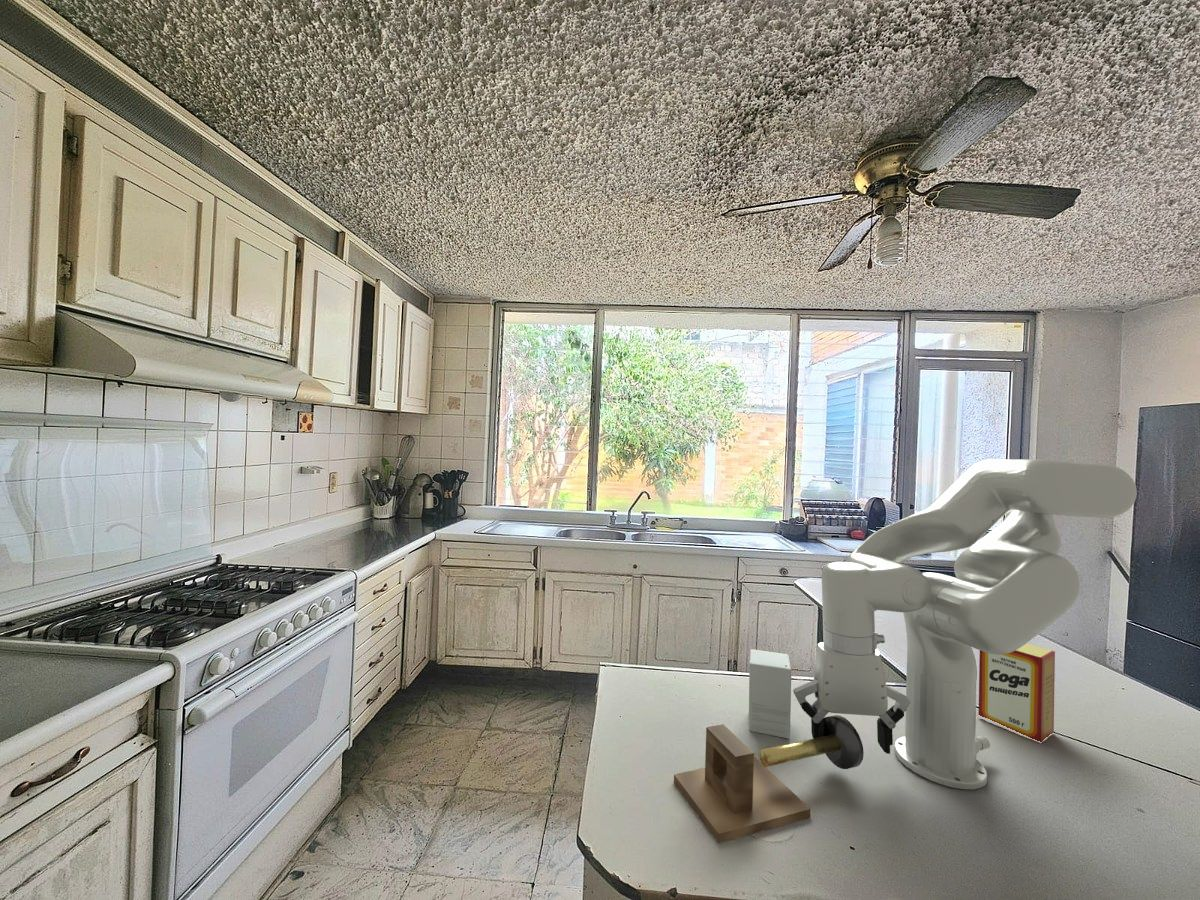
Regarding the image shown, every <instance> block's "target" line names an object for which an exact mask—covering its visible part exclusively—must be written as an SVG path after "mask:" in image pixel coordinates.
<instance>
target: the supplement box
mask: <svg viewBox="0 0 1200 900" xmlns="http://www.w3.org/2000/svg"><path fill="white" fill-rule="evenodd" d="M748 662H749V663H748V668H749V669H748V671H749V672H748V677H749V679H748V732H753V733H759V734H764V735H769V736H774V737H779V738H782V739H783V738H784V739H787V740H788V739H791V714H792V713H791V708H792V707H791V706H792V668H791V667H792V666H791V663H790V657H789V654H788V653H781V652H774V651H767V650H766V651H765V650H761V649H760V650H759V649H755V648H754V649H753V648H751V649H750V653H749V659H748Z"/></svg>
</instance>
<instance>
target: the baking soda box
mask: <svg viewBox="0 0 1200 900" xmlns="http://www.w3.org/2000/svg"><path fill="white" fill-rule="evenodd" d="M1055 661H1056V651H1054V650H1052V649H1047V648H1045V647H1044V648H1043V647H1040V646H1037V645H1033V644H1031V643H1026V644H1025V645H1023V646H1022V647H1021V648H1019V649H1017V650H1015V651H1013V652H1011V653H1008V654H1002V655H996V654H990V653H986V652H983V651H981V650H979V663H978V664H979V665H978V666H979V667H978V669H979V670H978V671H979V673H978V674H979V675H978V679H979V680H978V715H980V716H982V717H985V718H988V719H990V720H992V721H994V722H997V723H999V724H1001V725H1003V726H1006V727H1007V728H1010V729H1012V730H1015V731H1016V732H1019V733H1021V734H1023V735H1026V736H1028V737H1030V738H1032V739H1035V740H1037V741H1040V742H1042V741H1043V740H1044V739H1045V738H1046V737H1048V736H1049V735H1050V734H1052V733H1053V732H1055V731H1054V730H1055V729H1054V728H1055V727H1054V723H1055V720H1054V719H1055V681H1056V679H1055V676H1056V675H1055V674H1056V673H1055V671H1056V670H1055V669H1056V668H1055V667H1056V663H1055Z"/></svg>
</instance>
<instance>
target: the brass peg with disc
mask: <svg viewBox="0 0 1200 900" xmlns="http://www.w3.org/2000/svg"><path fill="white" fill-rule="evenodd" d="M822 722H823V724H824V736H823V737H819V738H814V739H813V738H810V739H804V740H801V741H796V742H791V743H787V744H782V745H777V746H772V747H771V746H770V747H766V748H763V749H759V751H758V758H759V759H758V760H759V761H760V762H761V763H762V765H763V766H764V767H767V768H768V767H772V766H775V765H779V764H781V765H782V764H785V763H790V762H795V761H798V760H803V759H808V758H811V757H816V756H821V755H826V757H827V758H828V759H829V761H830V762H831V763H832V764H833V765H834V766H836V767H838V768H839V769H842V770H849V769H853V768H856V767H858V766H860V765H861V764H862V762H863V760H864V753H865V752H864V746H863V741H862V739H861V737H860V734H859V732H858V731H857V729H856V728H855V726H854V725H853V724H852V723H851V721H849V720H848V719H847V718H846V717H844V716H842V715H837V714H835V715H831V716H825V717H824V718H823V719H822Z"/></svg>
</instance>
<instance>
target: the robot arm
mask: <svg viewBox="0 0 1200 900" xmlns="http://www.w3.org/2000/svg"><path fill="white" fill-rule="evenodd" d="M1137 495H1138V491H1137V486H1136V483H1135V481H1134V479H1133V477H1131V475H1130V474H1129V473H1128V472H1126V471H1125V470H1123V469H1122V468H1119V467H1118V466H1114V465H1111V464H1102V463H1101V464H1100V463H1086V462H1071V461H1061V460H1051V459H1050V460H1049V459H1048V460H1047V459H1035V458H1034V459H1031V458H1030V459H1029V458H1028V459H1026V458H1025V459H1024V458H1023V459H1020V458H1019V459H1016V458H1007V459H1006V458H993V459H992V458H991V459H985V460H981V461H979V462H976V463H974V464H973V465H971V466H970V467H969V468H967V469H966V470H965V471H964V472H963V473H962V474H961V475H960V476H959V477H958V478H957V479H955V481H954V482H953V483H951V485H949V486H948V487H947V488H946V489H945V490H944V491H943V492H942V493H941V494H940V495H939V496H938V497H937V498H936V499H935V500H933V502H931V503H930V504H929V505H928V506H927V507H926V508H924V509H923V510H921V511H919V512H916V513H913V514H911V515H909V516H906V517H903V518H901V519H899V520H897V521H895V522H892V523H890V524H888V525H885V526H884V527H882V528H880V529H878V530H876V531H875V532H873V533H872V534H870V535H869V536H868V537H867V538H866V539H865V540H863V542H861V543H860V544H859V545H858V546H857V547H856V548H855V549H854V550H853V551H852V552H851V553H850V554H849V555H848V557H847V558H846V560H845V561H832V562H829V563H826V564H824V565H823V567H822V569H821V598H822V599H821V600H822V605H821V606H822V607H821V608H822V637H823V638H822V639H823V641H821V642H819V643H817V648H816V653H815V659H814V672H813V680H811V681H809V682H806V683H803V684H802V685H800V686H798V687H795V688H793V690H792V692H793V694H794V696H795V699H796V700H797V702H798V704H799V705H800V707H801V709H802V711H803V712H804V713H806V715H807V716H808V717H810V719H811V722H810V723H811V724H810V725H811V729H810V730H811V736H812V737H811V738H812V739H814V738H819V737H823V736H824V724H823V722H822V719H823V718H825V717H827V715H828V714H829V713H831V714H841V715H853V716H855V715H856V716H869V717H870V716H871V717H873V716H874V717H877V720H876V727H877V728H876V729H877V731H876V734H877V743H878V745H879V746H880V747H881V749H882V751H883V752H884V753H885V754H887V755H888V754H889V755H890V754H891V746H893V745H894V749H893V750H894V754H895V756H896V758H897V759H898V760H899V761H900V762H901V763H902V764H903V765H905V766H904V767H907V769H909V770H911V771H912V772H914V773H915V774H917V775H918V776H921V777H923V778H925V779H927V780H929V781H932V782H934V783H937V784H938V785H943V786H945V787H950V788H953V789H958V790H959V789H961V790H976V789H981V788H983V787H985V786H986V784H987V782H988V772H987V770H986V768H985V767H984V765H983V764H982V763H981V762H980V761H979V760H978V759H977V757H978V756H977V754H979V753H980V751H983V750H987V749H990V748H991V743H990V740H989V739H988V738H987V737H986V736H984V735H978V736H976V725H977V724H976V723H977V722H976V718H977V715H976V714H977V680H978V679H977V678H978V667H977V661H976V656H975V653H974V650H973V649H976V650H978V651H980V650H981V651H983V652H986V653H990V654H996V655H1002V654H1008V653H1011V652H1013V651H1015V650H1017V649H1019V648H1021V647H1022V646H1023V645H1025V644H1029V642H1031V640H1033V639H1034V638H1035V637H1037V636H1038V635H1039V634H1041V633H1042V632H1044V631H1045V630H1046V629H1047V628H1048V627H1050V626H1051V625H1052V624H1054V623H1055V622H1056V621H1058V620H1059V619H1060V618H1062V617H1063V616H1064V615H1065V614H1066V613H1067V612H1068V611H1069V610H1070V609H1071V608H1072V607H1073V606H1074V603H1076V600H1077V598H1078V595H1079V593H1080V585H1081V581H1080V575H1079V574H1078V570H1077V568H1075V566H1074V565H1073V564H1072V563H1071V562H1070V561H1069V560H1068V559H1067V558H1065V557H1063V555H1060V554H1058V553H1059V551H1060V550H1061V545H1062V542H1061V541H1062V540H1061V537H1060V533H1059V531H1058V529H1057V527H1056V524H1055V520H1054V515H1056V516H1063V517H1077V518H1097V519H1098V518H1100V519H1110V518H1111V519H1112V518H1115V517H1118V516H1121V515H1123V514H1125V513H1127V512H1128V511H1129V510H1130V509H1131V508H1132V506H1134V503H1135V502H1136V500H1137ZM1004 516H1005V517H1004ZM1003 517H1004V519H1003V520H1002V521H1001V523H1000V524H998V525H997V526H995V528H994V529H992V530H991V531H990V529H991V528H993V526H994V525H995V524H997V522H999V521H1000V520H1001V519H1002V518H1003ZM988 531H989V532H988ZM987 532H988V533H987ZM958 550H962V552H961V553H960V554H959V555H958V557H956V559H955V562H954V565H953V571H954V575H955V577H954V576H951V575H948V574H943V573H940V572H939V573H938V572H931V571H930V572H927V571H926V572H921V571H920V570H919V569H917V568H915V567H913V566H910V565H907V564H905V563H903V562H905V561H907V560H909V559H913V558H916V557H918V556H922V555H929V554H935V553H945V552H946V553H947V552H953V551H958ZM876 611H883V612H884V611H885V612H894V613H902V614H903V620H904V623H905V632H906V686H905V688H906V691H905V694H903V693H901V692H899V691H897V690H896V689H894V688H892V687H890V686H888V685H887V682H886V675H885V670H884V665H883V661H882V657H881V653H880V651H879V649H878V647H877V646H878V645H879V644H885V642H886V641H885V640H886V639H885V635H884V634H879V633H877V632H876V630H875V629H876V628H875V627H876V625H875V624H876V622H875V618H876V617H875V612H876ZM812 694H813V695H814V697H815V699H816V700H814V702H812V704H810V703H809V702H808V701H807V699H806V697H807V696H810V695H812ZM888 698H890V699H891V700H893V701H895V703H894V705H892V706H891V707H890V708H889V709H888V705H889V704H888ZM904 716H905V725H904V726H905V733H904V734H905V735H904V736H901V737H899V738H897V739H896V740H895V742H894V739H893V736H894V735H893V729H895V728H896V727H897V726H896V724H897V723H898V722H899V721H900V720H902V719H903V718H904ZM893 742H894V743H893Z"/></svg>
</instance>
